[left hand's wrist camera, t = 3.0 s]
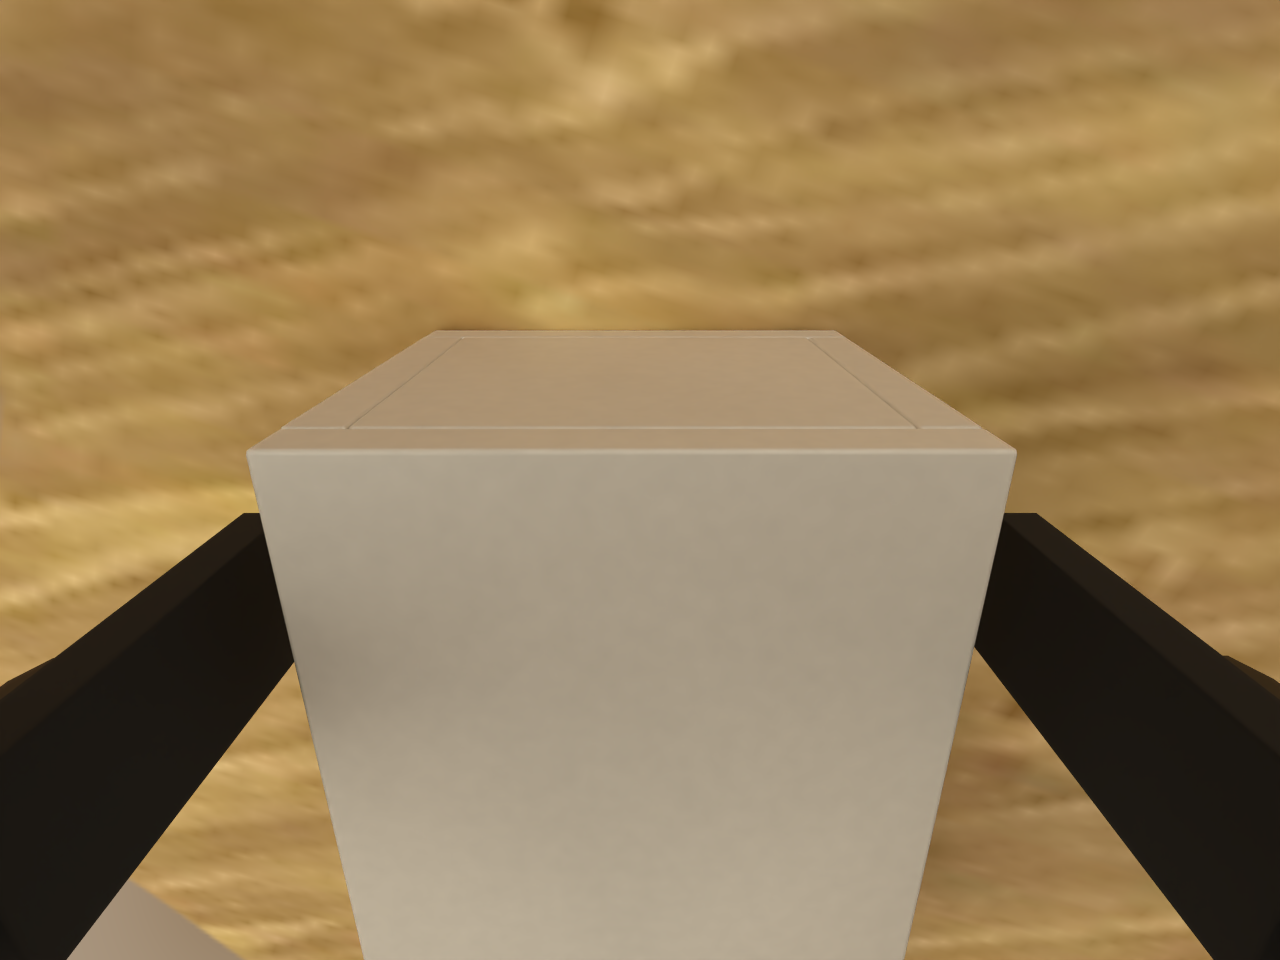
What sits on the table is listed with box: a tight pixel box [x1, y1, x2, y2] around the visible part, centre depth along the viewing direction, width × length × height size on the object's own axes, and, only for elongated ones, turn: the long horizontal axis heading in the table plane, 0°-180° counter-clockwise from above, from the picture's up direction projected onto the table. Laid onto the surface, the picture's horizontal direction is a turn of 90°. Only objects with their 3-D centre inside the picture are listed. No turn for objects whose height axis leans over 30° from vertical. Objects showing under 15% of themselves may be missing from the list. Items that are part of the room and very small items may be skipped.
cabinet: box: [246, 330, 1017, 960], centre depth 17 cm, size 20×10×9 cm, turn 0°
